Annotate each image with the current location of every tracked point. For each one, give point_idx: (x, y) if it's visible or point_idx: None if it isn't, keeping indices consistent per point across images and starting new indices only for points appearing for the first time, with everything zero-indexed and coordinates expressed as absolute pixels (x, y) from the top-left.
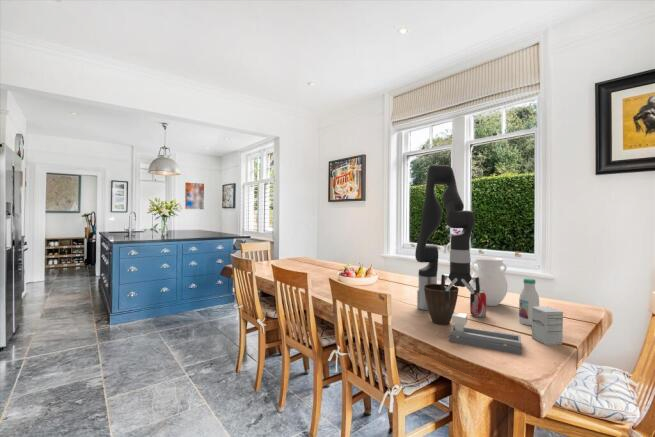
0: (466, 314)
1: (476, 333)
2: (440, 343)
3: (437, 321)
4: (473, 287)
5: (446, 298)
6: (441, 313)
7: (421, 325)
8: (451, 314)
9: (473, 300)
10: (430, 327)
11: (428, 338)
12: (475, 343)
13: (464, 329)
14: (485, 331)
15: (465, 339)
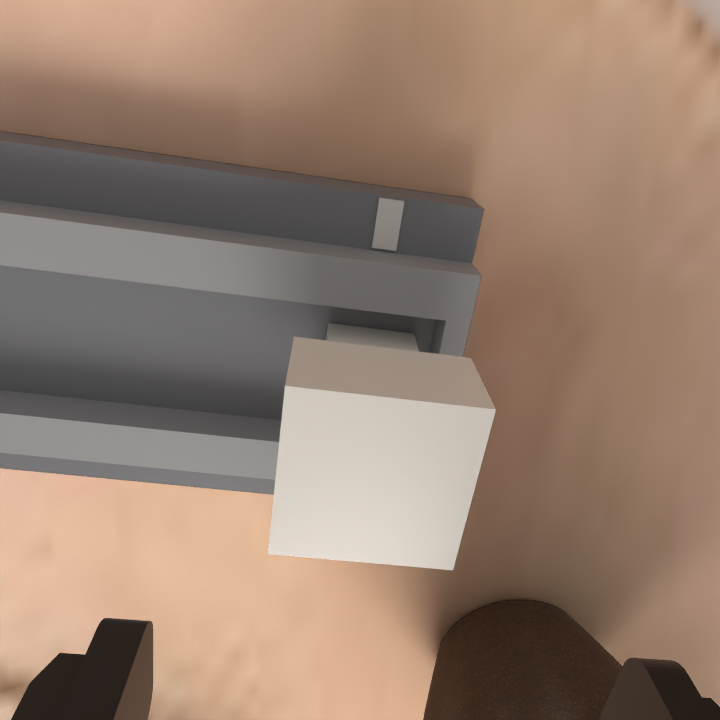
0: (276, 541)
1: (194, 408)
2: (569, 99)
3: (555, 616)
4: None
5: (707, 710)
6: (552, 675)
7: (695, 529)
8: (440, 707)
9: (46, 695)
10: (617, 509)
11: (681, 207)
12: (197, 163)
13: None
14: (91, 419)
15: (302, 183)
